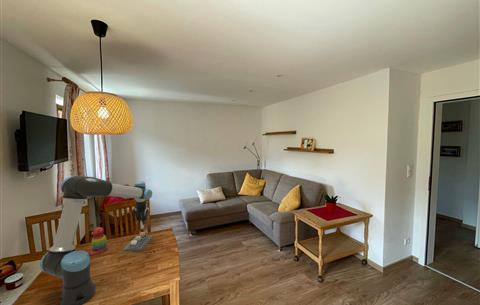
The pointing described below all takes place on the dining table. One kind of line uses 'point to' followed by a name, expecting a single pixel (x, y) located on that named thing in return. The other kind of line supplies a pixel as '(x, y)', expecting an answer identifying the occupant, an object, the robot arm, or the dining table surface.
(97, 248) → the stacking bear
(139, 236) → the button two
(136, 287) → the dining table surface
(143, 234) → the button three
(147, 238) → the board
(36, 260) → the dining table surface
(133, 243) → the button one
